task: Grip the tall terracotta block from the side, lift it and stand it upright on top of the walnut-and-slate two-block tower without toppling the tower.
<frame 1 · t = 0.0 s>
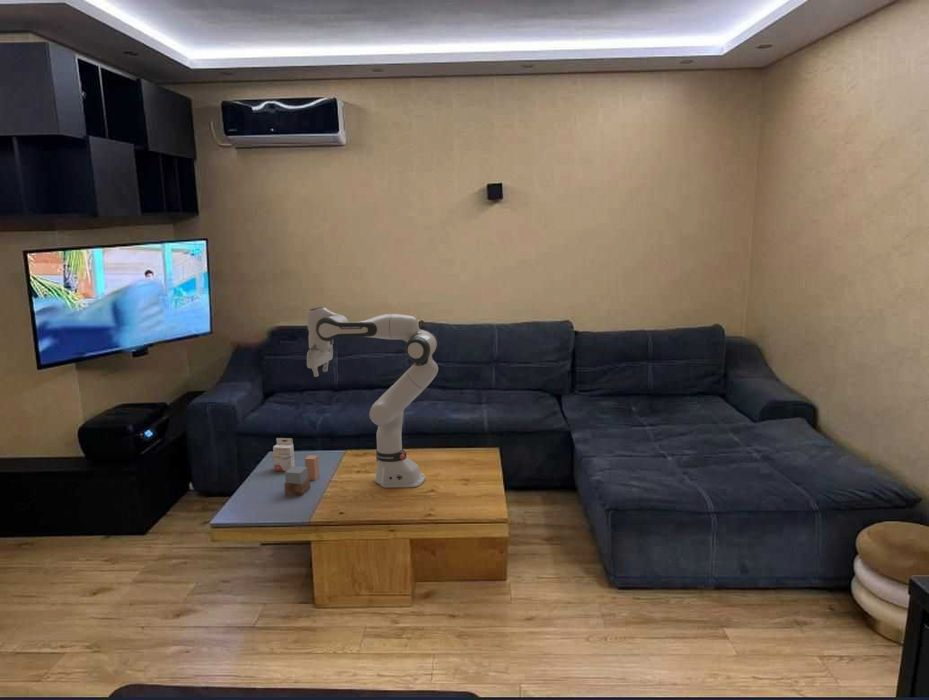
hand: (320, 373, 298), 48 cm above the table, tool pointing down, fingers open, 8 cm apart
tower base: (298, 491, 290), on the table, touching tower top
terracotta block: (312, 477, 305), on the table
ink cartridge box: (284, 469, 316), on the table
tower top: (296, 480, 289), point 5 cm above the table, touching tower base
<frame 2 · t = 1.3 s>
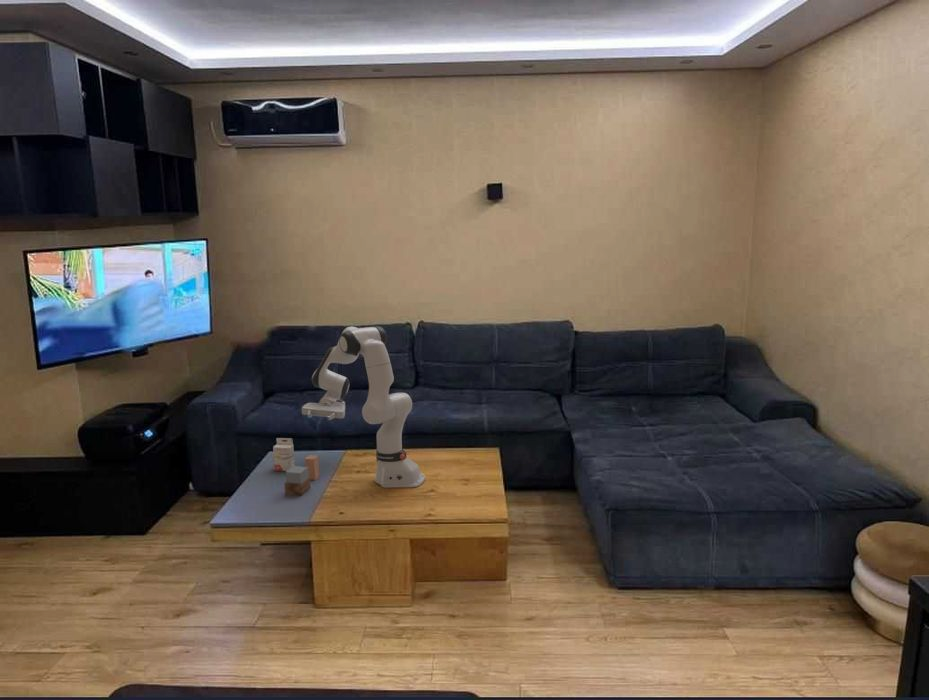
hand: (319, 417, 310), 25 cm above the table, tool horizontal, fingers open, 8 cm apart
nothing on the table moved.
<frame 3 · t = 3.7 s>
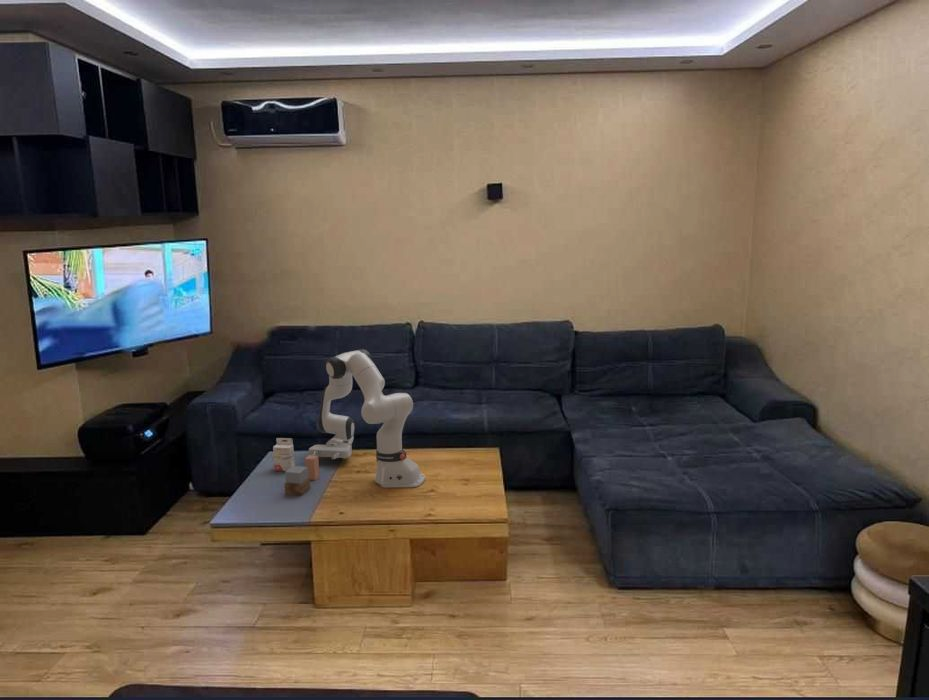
hand: (323, 457, 315), 5 cm above the table, tool horizontal, fingers open, 8 cm apart
tower base: (298, 491, 291), on the table
tower top: (297, 480, 290), point 5 cm above the table
everything else where it was.
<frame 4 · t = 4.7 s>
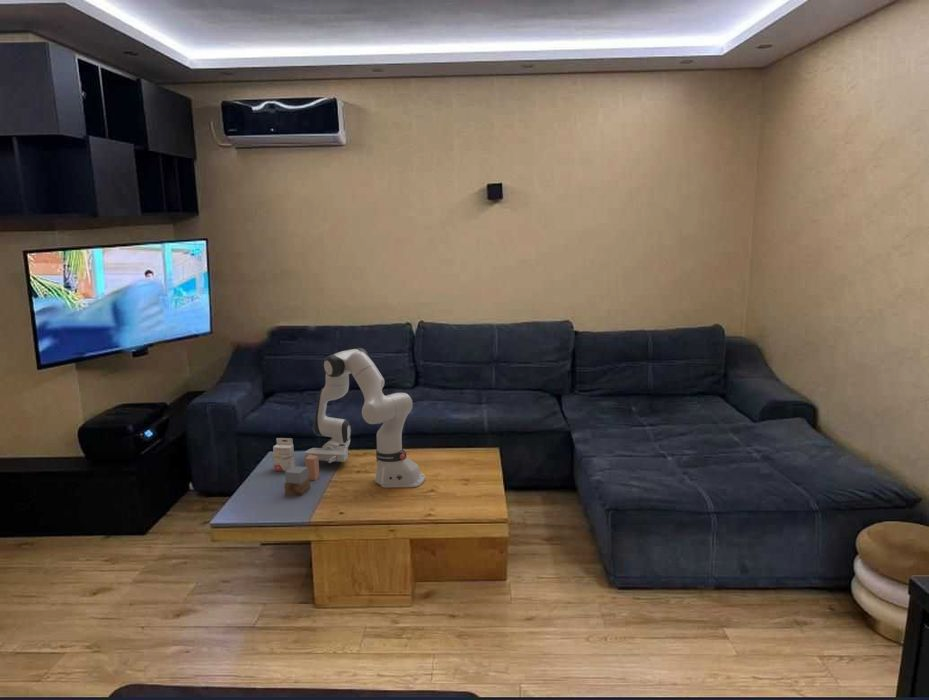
hand: (319, 460, 311), 5 cm above the table, tool horizontal, fingers open, 8 cm apart
nothing on the table moved.
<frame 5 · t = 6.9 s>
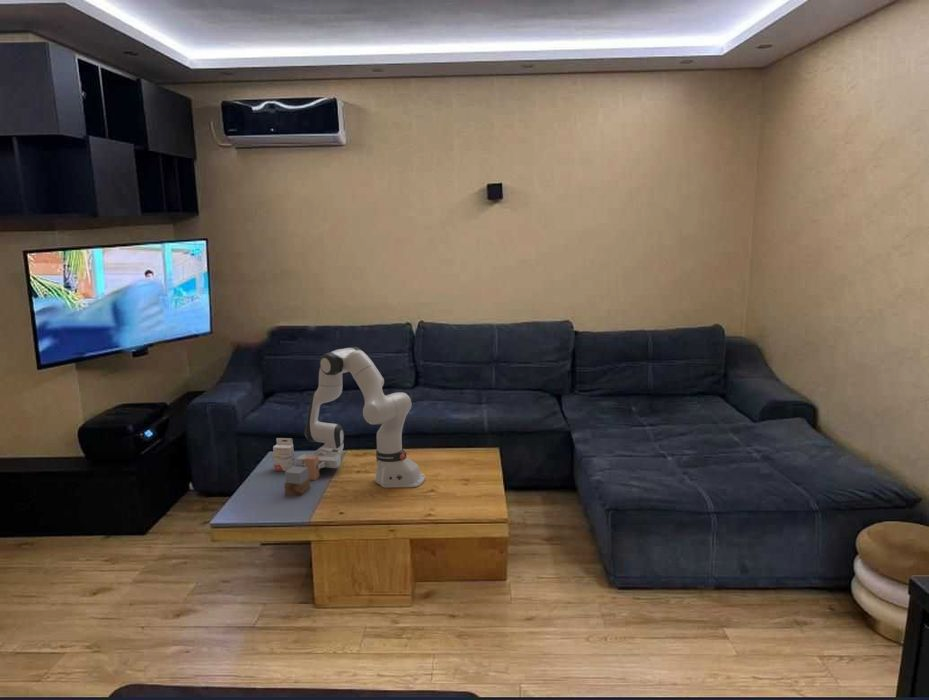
hand: (311, 467, 303), 6 cm above the table, tool horizontal, fingers closed on terracotta block, 4 cm apart
tower base: (298, 491, 291), on the table, touching tower top
terracotta block: (312, 477, 305), on the table, touching gripper
tower top: (297, 480, 289), point 5 cm above the table, touching tower base
everything else where it was.
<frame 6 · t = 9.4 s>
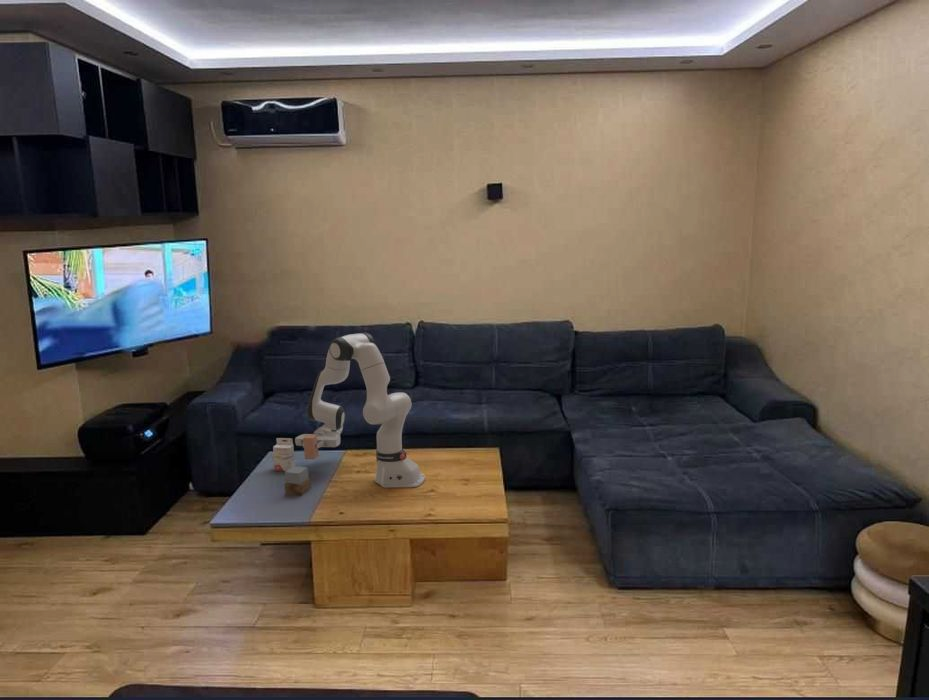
hand: (310, 446, 301), 15 cm above the table, tool horizontal, fingers closed on terracotta block, 4 cm apart
tower base: (298, 491, 291), on the table
terracotta block: (311, 457, 303), point 10 cm above the table, touching gripper
tower top: (297, 480, 290), point 5 cm above the table
everything else where it was.
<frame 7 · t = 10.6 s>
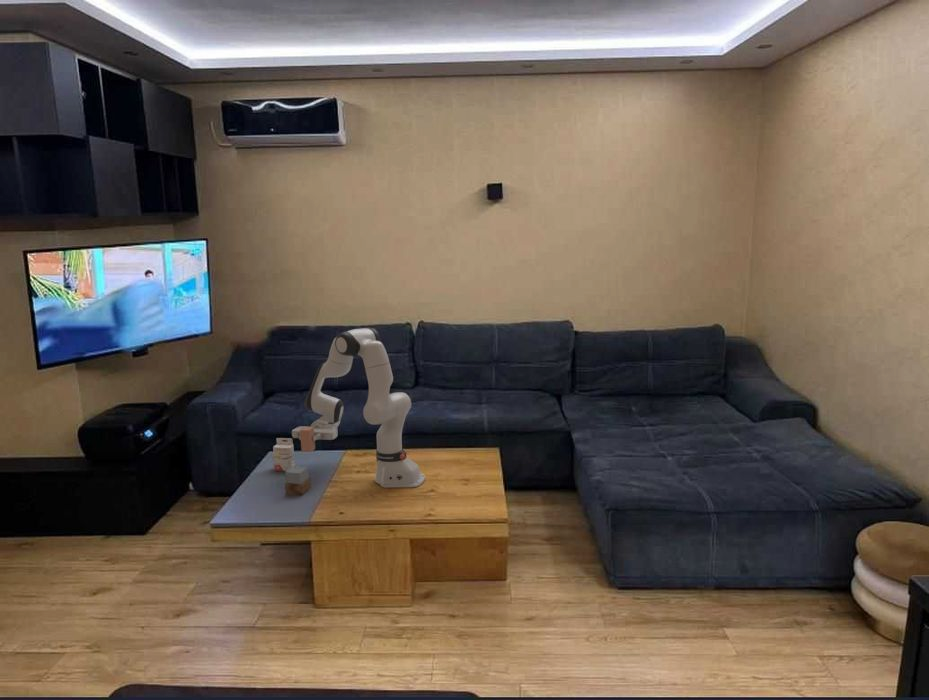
hand: (306, 438, 298), 20 cm above the table, tool horizontal, fingers closed on terracotta block, 4 cm apart
tower base: (298, 491, 291), on the table, touching tower top
terracotta block: (308, 450, 299), point 14 cm above the table, touching gripper
tower top: (297, 480, 290), point 5 cm above the table, touching tower base
everything else where it was.
when the fingers open (17 cm above the table, at t = 12.6 s): terracotta block drops 2 cm, resting on tower top.
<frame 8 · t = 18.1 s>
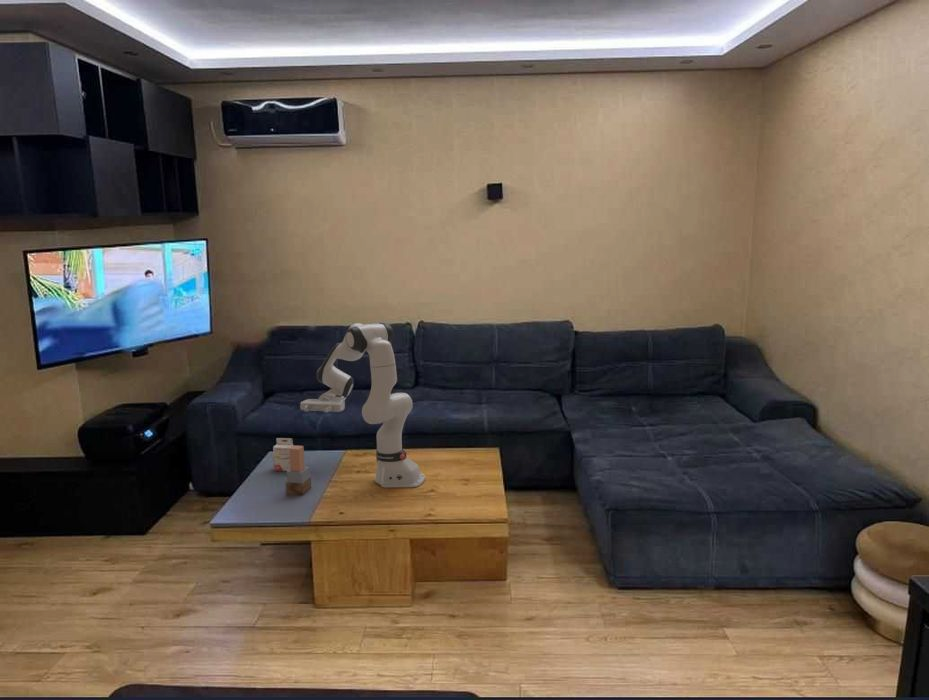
hand: (315, 410, 306), 30 cm above the table, tool horizontal, fingers open, 8 cm apart
terracotta block: (297, 469, 289), point 10 cm above the table, touching tower top
tower top: (298, 480, 290), point 5 cm above the table, touching terracotta block, tower base
everything else where it was.
at the end: terracotta block 0.2 cm off-centre on the tower top, point 5.0 cm above the tower top's base; terracotta block tilted 0°; tower top 0.1 cm off-centre on the tower base, point 5.0 cm above the tower base's base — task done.
